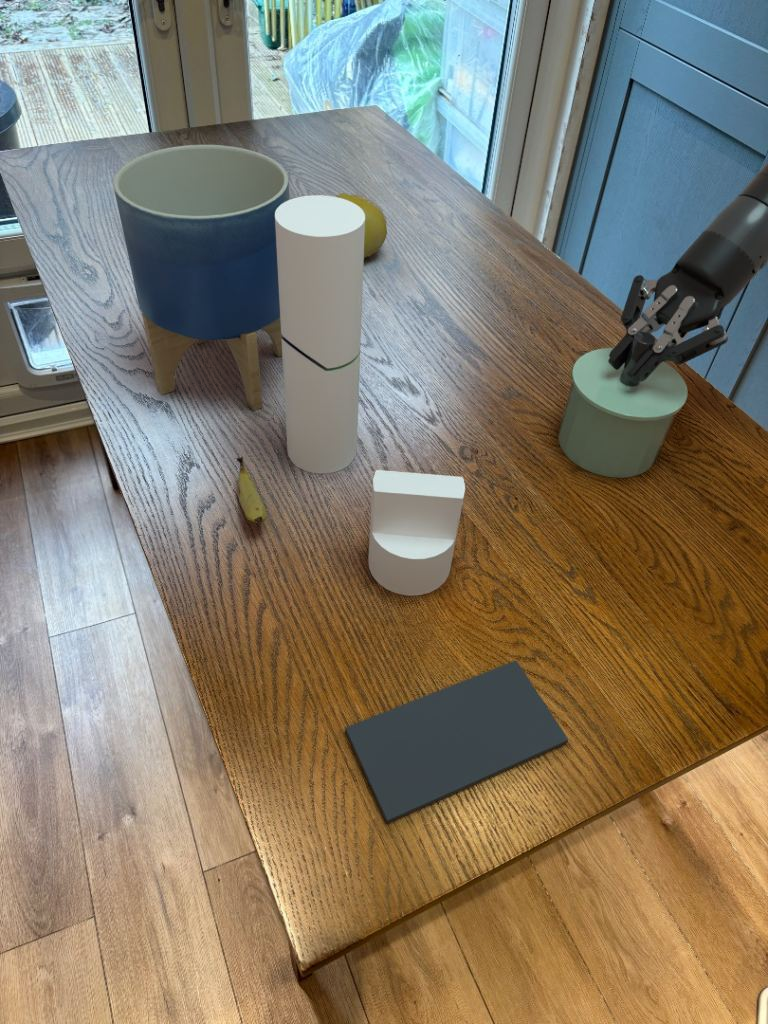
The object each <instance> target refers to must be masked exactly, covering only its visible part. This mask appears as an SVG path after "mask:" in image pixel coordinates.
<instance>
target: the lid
mask: <svg viewBox="0 0 768 1024" xmlns="http://www.w3.org/2000/svg"><path fill="white" fill-rule="evenodd" d="M656 342H657V341H656V337H655V336H654V335H653V334H652V333H651V334H649V333H646V332H638V333H636V334H635V335H634V338H633V341H632V344H631V347H630V349H629V352H628V355H627V358H626V361H625V363H624V364H623V365H622V366H621V367H620V368H619V369H618V370H616V369H614V368H613V367H612V366H611V365H610V364H609V362H608V360H609V358H610V357H609V354H610V352H611V351H612V350H613V349H614V347H604V348H598V349H594V350H591V351H588V352H586V353H584V354H583V355H581V356H580V357H579V358H577V360H576V361H575V363H574V364H573V367H572V370H571V383H572V382H573V385H574V387H575V389H576V390H577V392H578V393H579V394H580V396H581V397H582V398H583V399H585V400H586V401H587V402H588V403H590V404H591V405H592V406H594V407H596V408H597V409H599V410H601V411H603V412H605V413H608V414H610V415H613V416H616V417H620V418H624V419H629V420H636V421H654V420H660V419H664V418H667V417H670V416H672V415H674V414H676V415H677V413H678V412H680V411H681V410H682V408H683V407H684V405H686V402H687V399H688V386H687V384H686V381H685V380H684V378H683V377H682V375H681V374H680V373H679V372H678V371H677V370H676V369H675V368H674V367H672V366H671V365H670V364H668V363H667V362H666V361H663V362H662V363H660V364H659V366H658V367H657V368H656V369H655V370H654V371H653V372H652V373H651V374H650V375H649V377H648V378H647V379H646V380H644V381H642V382H641V381H639V382H638V383H636V384H635V383H633V382H632V381H631V380H630V379H629V378H628V377H627V373H628V372H629V371H630V370H631V368H632V367H633V366H634V365H635V364H636V363H637V362H638V361H639V360H640V358H641V357H642V356H643V355H644V354H645V353H646V352H647V351H648V350H651V351H652V350H653V347H654V345H655V344H656Z"/></svg>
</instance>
